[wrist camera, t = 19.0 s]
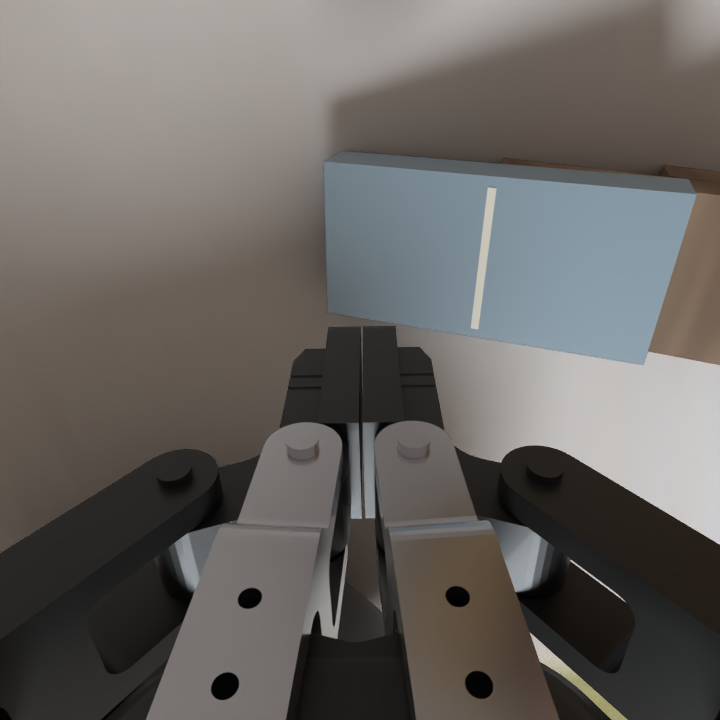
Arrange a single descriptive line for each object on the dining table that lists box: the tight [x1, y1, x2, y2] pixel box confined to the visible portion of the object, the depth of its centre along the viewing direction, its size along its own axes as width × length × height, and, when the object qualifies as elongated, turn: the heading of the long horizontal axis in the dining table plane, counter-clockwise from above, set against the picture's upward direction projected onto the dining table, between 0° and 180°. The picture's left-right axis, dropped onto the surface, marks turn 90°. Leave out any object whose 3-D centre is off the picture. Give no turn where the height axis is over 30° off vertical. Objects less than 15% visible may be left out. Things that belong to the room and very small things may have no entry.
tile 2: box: [501, 158, 720, 365], centre depth 18 cm, size 2×5×10 cm
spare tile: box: [324, 151, 697, 365], centre depth 18 cm, size 2×5×10 cm
